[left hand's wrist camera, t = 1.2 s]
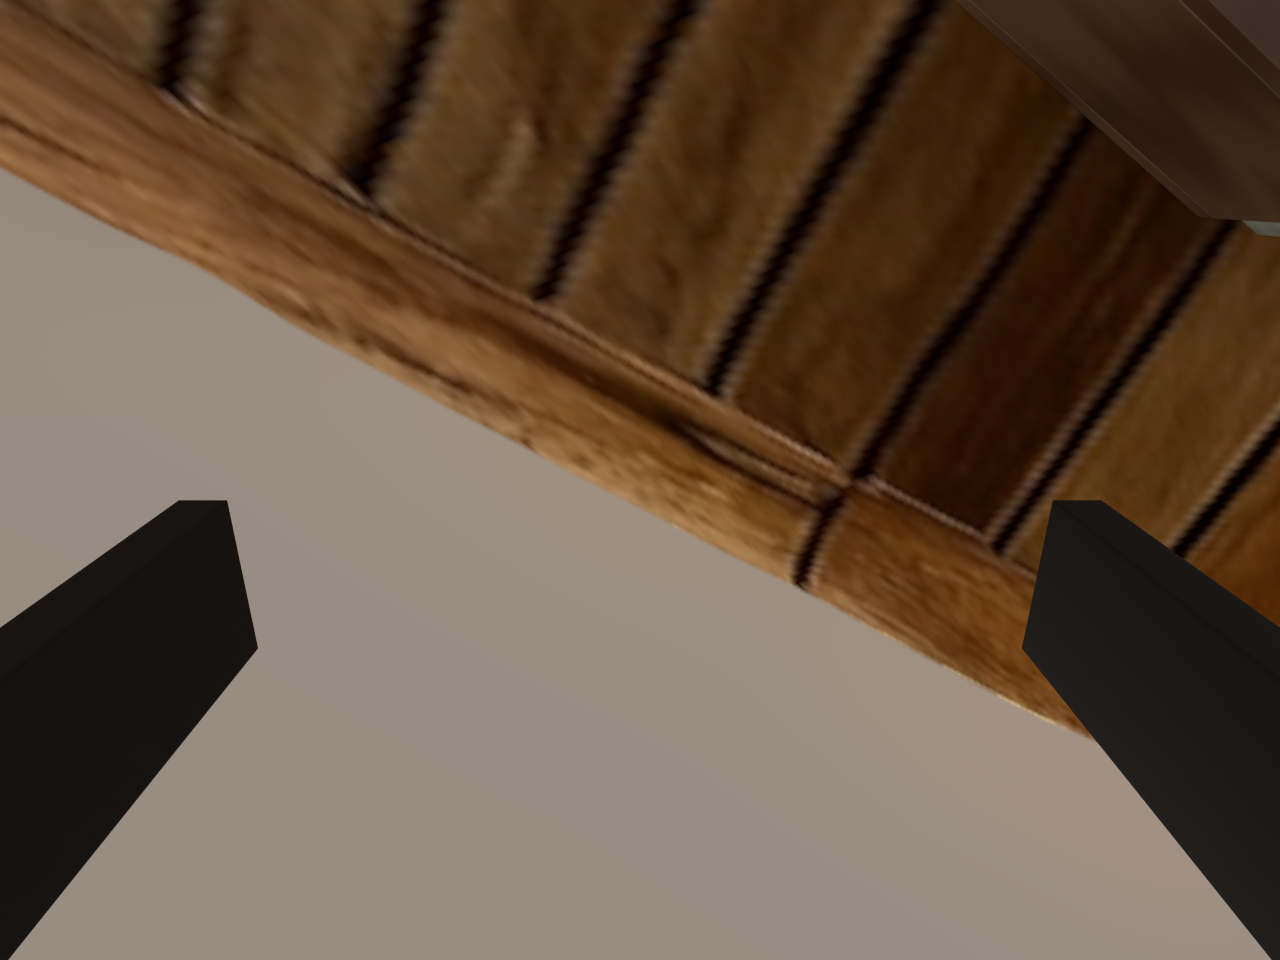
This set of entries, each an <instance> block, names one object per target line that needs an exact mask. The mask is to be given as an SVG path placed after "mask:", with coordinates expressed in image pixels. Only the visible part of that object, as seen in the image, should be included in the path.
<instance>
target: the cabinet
mask: <svg viewBox="0 0 1280 960" xmlns="http://www.w3.org/2000/svg"><path fill="white" fill-rule="evenodd" d="M955 1H956V2H957V3H958V4H960V5H961V6H962V7H963V8H964V9H965V10H966V11H967V12H969V13H970V14H971V15H972V16H973V17H974V18H975V19H976V20H978V21H979V22H980V23H981V24H982V25H983V26H984V27H985V28H987V29H988V30H989V31H990V32H991V33H992V34H993V35H994V36H996V37H997V38H998V39H999V40H1000V41H1001V42H1002V43H1003V44H1005V45H1006V46H1007V47H1008V48H1009V49H1010V50H1011V51H1012V52H1014V53H1015V54H1016V55H1017V56H1018V57H1019V58H1020V59H1021V60H1023V61H1024V62H1025V63H1026V64H1027V65H1028V66H1029V67H1030V68H1032V69H1033V70H1034V71H1035V72H1036V73H1037V74H1038V75H1039V76H1041V77H1042V78H1043V79H1044V80H1045V81H1046V82H1047V83H1048V84H1050V85H1051V86H1052V87H1053V88H1054V89H1055V90H1056V91H1057V92H1059V93H1060V94H1061V95H1062V96H1063V97H1064V98H1065V99H1066V100H1068V101H1069V102H1070V103H1071V104H1072V105H1073V106H1074V107H1075V108H1077V109H1078V110H1079V111H1080V112H1081V113H1082V114H1083V115H1084V116H1086V117H1087V118H1088V119H1089V120H1090V121H1091V122H1092V123H1093V124H1095V125H1096V126H1097V127H1098V128H1099V129H1100V130H1101V131H1102V132H1104V133H1105V134H1106V135H1107V136H1108V137H1109V138H1110V139H1111V140H1113V141H1114V142H1115V143H1116V144H1117V145H1118V146H1119V147H1120V148H1122V149H1123V150H1124V151H1125V152H1126V153H1127V154H1128V155H1129V156H1131V157H1132V158H1133V159H1134V160H1135V161H1136V162H1137V163H1138V164H1140V165H1141V166H1142V167H1143V168H1144V169H1145V170H1146V171H1147V172H1149V173H1150V174H1151V175H1152V176H1153V177H1154V178H1155V179H1156V180H1158V181H1159V182H1160V183H1161V184H1162V185H1163V186H1164V187H1165V188H1167V189H1168V190H1169V191H1170V192H1171V193H1172V194H1173V195H1174V196H1176V197H1177V198H1178V199H1179V200H1180V201H1181V202H1182V203H1183V204H1185V205H1186V206H1187V207H1188V208H1189V209H1190V210H1191V211H1192V212H1194V213H1195V214H1196V215H1197V216H1198V217H1200V218H1215V219H1229V220H1244V221H1258V222H1273V223H1280V0H955Z"/></svg>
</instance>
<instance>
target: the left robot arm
mask: <svg viewBox="0 0 1280 960" xmlns="http://www.w3.org/2000/svg"><path fill="white" fill-rule="evenodd" d="M257 649H258V646H257V641H256V637H255V632H254V627H253V622H252V617H251V613H250V608H249V603H248V598H247V594H246V589H245V584H244V579H243V574H242V570H241V565H240V560H239V555H238V551H237V546H236V541H235V536H234V531H233V527H232V522H231V517H230V512H229V508H228V503H227V500H179V501H177V502H176V503H175V504H173V505H172V506H170V507H169V508H168V509H166V510H165V511H163V512H162V513H161V514H159V515H158V516H156V517H155V518H154V519H152V520H151V521H149V522H148V523H147V524H145V525H144V526H142V527H141V528H139V529H138V530H137V531H135V532H134V533H132V534H131V535H130V536H128V537H127V538H126V539H124V540H123V541H121V542H120V543H118V544H117V545H116V546H114V547H113V548H111V549H110V550H109V551H107V552H106V553H104V554H103V555H102V556H100V557H99V558H97V559H96V560H95V561H93V562H92V563H90V564H89V565H88V566H86V567H85V568H83V569H82V570H81V571H79V572H78V573H76V574H75V575H74V576H72V577H71V578H69V579H68V580H67V581H65V582H64V583H62V584H61V585H60V586H58V587H57V588H55V589H54V590H52V591H51V592H50V593H48V594H47V595H45V596H44V597H43V598H41V599H40V600H38V601H37V602H36V603H34V604H33V605H31V606H30V607H29V608H27V609H26V610H24V611H23V612H22V613H20V614H19V615H17V616H16V617H15V618H13V619H12V620H10V621H9V622H8V623H6V624H5V625H3V626H2V627H1V628H0V960H8V959H9V958H10V957H11V956H12V954H13V953H14V952H15V951H16V949H17V948H18V947H19V946H20V944H21V943H22V942H23V941H24V939H25V938H26V937H27V936H28V934H29V933H30V932H31V931H32V929H33V928H34V927H35V926H36V924H37V923H38V922H39V921H40V919H41V918H42V917H43V916H44V914H45V913H46V912H47V911H48V910H49V908H50V907H51V906H52V905H53V903H54V902H55V901H56V900H57V898H58V897H59V896H60V895H61V893H62V892H63V891H64V890H65V888H66V887H67V886H68V885H69V883H70V882H71V881H72V880H73V878H74V877H75V876H76V875H77V873H78V872H79V871H80V870H81V868H82V867H83V866H84V865H85V863H86V862H87V861H88V860H89V858H90V857H91V856H92V855H93V853H94V852H95V851H96V850H97V848H98V847H99V846H100V845H101V843H102V842H103V841H104V840H105V838H106V837H107V836H108V835H109V833H110V832H111V831H112V830H113V828H114V827H115V826H116V825H117V823H118V822H119V821H120V820H121V818H122V817H123V816H124V815H125V813H126V812H127V811H128V810H129V809H130V807H131V806H132V805H133V804H134V802H135V801H136V800H137V798H138V797H139V796H140V795H141V794H142V792H143V791H144V790H145V789H146V787H147V786H148V785H149V784H150V782H151V781H152V780H153V778H154V777H155V776H156V775H157V774H158V772H159V771H160V770H161V769H162V767H163V766H164V765H165V764H166V762H167V761H168V760H169V759H170V757H171V756H172V755H173V754H174V752H175V751H176V750H177V749H178V747H179V746H180V745H181V744H182V742H183V741H184V740H185V739H186V737H187V736H188V735H189V734H190V732H191V731H192V730H193V729H194V727H195V726H196V725H197V724H198V722H199V721H200V720H201V719H202V717H203V716H204V715H205V714H206V712H207V711H208V710H209V709H210V707H211V706H212V705H213V704H214V702H215V701H216V700H217V699H218V698H219V696H220V695H221V694H222V693H223V691H224V690H225V689H226V687H227V686H228V685H229V684H230V682H231V681H232V680H233V679H234V678H235V676H236V675H237V674H238V673H239V671H240V670H241V669H242V668H243V666H244V665H245V664H246V663H247V661H248V660H249V659H250V658H251V656H252V655H253V654H254V653H255V651H256V650H257ZM1022 649H1023V650H1024V651H1025V653H1026V654H1027V655H1028V656H1029V658H1030V659H1031V660H1032V661H1033V663H1034V664H1035V665H1036V666H1037V668H1038V669H1039V670H1040V671H1041V673H1042V674H1043V675H1044V676H1045V678H1046V679H1047V680H1048V681H1049V683H1050V684H1051V685H1052V686H1053V688H1054V689H1055V690H1056V691H1057V693H1058V694H1059V695H1060V696H1061V698H1062V699H1063V700H1064V701H1065V703H1066V704H1067V705H1068V706H1069V707H1070V709H1071V710H1072V711H1073V712H1074V714H1075V715H1076V716H1077V717H1078V719H1079V720H1080V721H1081V722H1082V724H1083V725H1084V726H1085V727H1086V729H1087V730H1088V731H1089V732H1090V734H1091V735H1092V736H1093V737H1094V739H1095V740H1096V741H1097V742H1098V744H1099V745H1100V746H1101V747H1102V749H1103V750H1104V751H1105V752H1106V754H1107V755H1108V756H1109V757H1110V759H1111V760H1112V761H1113V762H1114V764H1115V765H1116V766H1117V767H1118V769H1119V770H1120V771H1121V772H1122V774H1123V775H1124V776H1125V777H1126V779H1127V780H1128V781H1129V782H1130V784H1131V785H1132V786H1133V787H1134V789H1135V790H1136V791H1137V792H1138V794H1139V795H1140V796H1141V797H1142V799H1143V800H1144V801H1145V802H1146V804H1147V805H1148V806H1149V807H1150V809H1151V810H1152V811H1153V812H1154V813H1155V815H1156V816H1157V817H1158V819H1159V820H1160V821H1161V822H1162V823H1163V825H1164V826H1165V827H1166V828H1167V830H1168V831H1169V832H1170V833H1171V835H1172V836H1173V837H1174V838H1175V840H1176V841H1177V842H1178V843H1179V845H1180V846H1181V847H1182V848H1183V850H1184V851H1185V852H1186V853H1187V855H1188V856H1189V857H1190V858H1191V860H1192V861H1193V862H1194V863H1195V865H1196V866H1197V867H1198V868H1199V870H1200V871H1201V872H1202V873H1203V875H1204V876H1205V877H1206V878H1207V880H1208V881H1209V882H1210V883H1211V885H1212V886H1213V887H1214V888H1215V890H1216V891H1217V892H1218V893H1219V895H1220V896H1221V897H1222V898H1223V900H1224V901H1225V902H1226V903H1227V905H1228V906H1229V907H1230V908H1231V910H1232V911H1233V912H1234V913H1235V915H1236V916H1237V917H1238V918H1239V920H1240V921H1241V922H1242V923H1243V925H1244V926H1245V927H1246V928H1247V930H1248V931H1249V932H1250V933H1251V934H1252V936H1253V937H1254V938H1255V939H1256V941H1257V942H1258V943H1259V944H1260V946H1261V947H1262V948H1263V949H1264V951H1265V952H1266V953H1267V954H1268V956H1269V957H1270V958H1271V959H1272V960H1280V628H1279V627H1278V626H1277V625H1275V624H1274V623H1272V622H1271V621H1270V620H1268V619H1267V618H1265V617H1264V616H1263V615H1261V614H1260V613H1258V612H1257V611H1256V610H1254V609H1253V608H1251V607H1250V606H1249V605H1247V604H1246V603H1244V602H1243V601H1242V600H1240V599H1239V598H1237V597H1236V596H1235V595H1233V594H1232V593H1230V592H1229V591H1228V590H1226V589H1225V588H1223V587H1222V586H1220V585H1219V584H1218V583H1216V582H1215V581H1213V580H1212V579H1211V578H1209V577H1208V576H1206V575H1205V574H1204V573H1202V572H1201V571H1199V570H1198V569H1197V568H1195V567H1194V566H1192V565H1191V564H1190V563H1188V562H1187V561H1185V560H1184V559H1183V558H1181V557H1180V556H1178V555H1177V554H1176V553H1174V552H1173V551H1171V550H1170V549H1169V548H1167V547H1166V546H1164V545H1163V544H1162V543H1160V542H1159V541H1157V540H1156V539H1155V538H1153V537H1152V536H1150V535H1149V534H1148V533H1146V532H1145V531H1143V530H1142V529H1141V528H1139V527H1138V526H1136V525H1135V524H1133V523H1132V522H1131V521H1129V520H1128V519H1126V518H1125V517H1124V516H1122V515H1121V514H1119V513H1118V512H1117V511H1115V510H1114V509H1112V508H1111V507H1110V506H1108V505H1107V504H1105V503H1104V502H1103V501H1101V500H1053V503H1052V508H1051V512H1050V517H1049V522H1048V527H1047V531H1046V536H1045V541H1044V546H1043V551H1042V555H1041V560H1040V565H1039V570H1038V574H1037V579H1036V584H1035V589H1034V594H1033V598H1032V603H1031V608H1030V613H1029V617H1028V622H1027V627H1026V632H1025V637H1024V641H1023V646H1022Z"/></svg>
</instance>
